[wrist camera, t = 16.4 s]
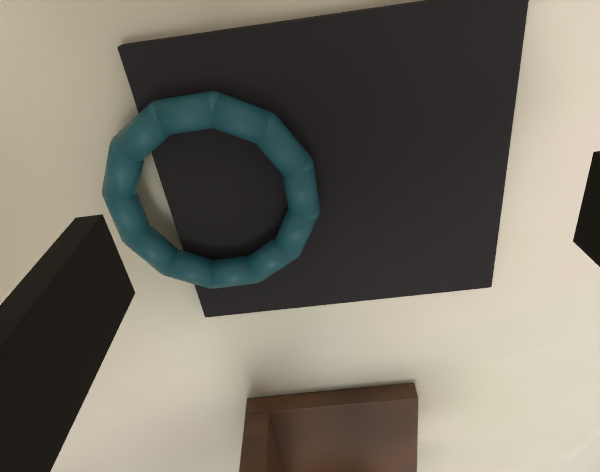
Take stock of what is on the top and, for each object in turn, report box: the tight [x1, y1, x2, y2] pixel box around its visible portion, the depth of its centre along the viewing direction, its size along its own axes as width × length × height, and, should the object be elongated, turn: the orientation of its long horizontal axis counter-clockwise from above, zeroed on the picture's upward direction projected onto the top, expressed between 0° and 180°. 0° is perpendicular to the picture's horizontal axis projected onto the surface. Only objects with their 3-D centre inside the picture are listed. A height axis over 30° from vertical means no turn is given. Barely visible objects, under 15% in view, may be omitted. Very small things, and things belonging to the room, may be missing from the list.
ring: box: [102, 91, 320, 289], centre depth 25 cm, size 2×12×12 cm
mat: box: [118, 0, 529, 317], centre depth 26 cm, size 20×18×1 cm
